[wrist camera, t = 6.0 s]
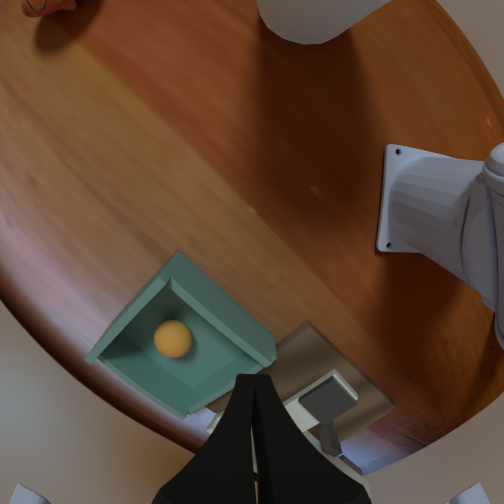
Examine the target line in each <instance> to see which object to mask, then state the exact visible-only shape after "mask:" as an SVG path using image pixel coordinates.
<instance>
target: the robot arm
mask: <svg viewBox="0 0 504 504" xmlns="http://www.w3.org/2000/svg"><path fill="white" fill-rule="evenodd" d="M396 149H398V150H399V154H398V155H397V154H396ZM389 242H390V246H389V247H386V245H387V243H389ZM376 247H377V249H378V250H379V251H381V252H414V253H422V254H423V255H425V256H427V257H428V258H430V259H431V260H433V261H434V262H436V263H437V264H439V265H440V266H442V267H443V268H445V269H446V270H448V271H449V272H451V273H452V274H454V275H455V276H456V277H458V278H459V279H461V280H462V281H464V282H465V283H466V284H468V285H469V286H471V287H472V288H474V289H475V290H476V291H478V292H479V293H480V294H481V296H482V299H483V304H484V305H486V306H487V307H488V308H489V309H491V310H492V311H493V312H494V313H495V333H496V336H497V340H498V342H499V344H500V346H501V347H502V348H503V350H504V142H503V143H501V144H499V145H498V146H496V147H495V148H494V149H493V150H492V151H491V153H490V155H489V157H488V158H487V159H486V160H485V162H482V161H473V160H464V159H456V158H452V157H448V156H444V155H440V154H436V153H432V152H428V151H424V150H419V149H415V148H410V147H405V146H400V145H395V144H388V145H387V146H386V147H385V156H384V174H383V188H382V199H381V209H380V218H379V227H378V234H377V242H376ZM251 426H252V435H253V442H254V450H255V457H256V465H257V483H258V504H372V503H371V500H370V497H369V495H368V493H367V491H366V489H365V487H364V486H363V485H362V484H360V483H359V482H357V481H356V480H354V479H352V478H351V477H350V476H348V475H347V474H345V473H344V472H343V471H341V470H340V469H339V468H337V467H336V466H335V465H334V464H332V463H331V462H330V461H329V460H328V459H327V458H326V457H325V456H324V455H322V454H321V453H320V452H319V451H318V450H317V449H316V448H315V447H314V446H313V445H312V443H311V442H310V441H309V440H308V439H307V438H306V437H305V435H304V434H303V433H302V432H301V430H300V429H299V428H298V426H297V425H296V423H295V422H294V421H293V419H292V418H291V416H290V415H289V413H288V411H287V410H286V408H285V406H284V404H283V403H282V401H281V399H280V397H279V395H278V393H277V391H276V389H275V387H274V384H273V382H272V379H271V376H270V375H269V374H238V375H236V381H235V385H234V389H233V392H232V394H231V397H230V399H229V402H228V404H227V406H226V409H225V411H224V413H223V414H222V416H221V418H220V420H219V422H218V424H217V425H216V427H215V429H214V430H213V432H212V433H211V435H210V436H209V438H208V439H207V441H206V442H205V443H204V445H203V446H202V447H201V449H200V450H199V451H198V452H197V454H196V455H195V456H194V457H193V458H192V459H191V460H190V461H189V462H188V463H187V465H186V466H185V467H184V468H183V469H182V470H181V471H180V472H179V473H178V474H176V475H175V476H174V477H173V478H172V479H171V480H170V481H168V482H167V483H166V484H165V485H163V486H162V487H161V488H160V489H159V491H158V492H157V494H156V496H155V498H154V499H153V501H152V504H257V503H256V493H255V483H254V469H253V454H252V435H251ZM9 504H51V503H50V502H49V501H48V500H47V499H45V498H44V497H43V496H41V495H39V494H38V493H36V492H34V491H32V490H30V489H29V488H27V487H25V486H24V485H22V484H21V483H18V485H17V487H16V489H15V491H14V493H13V496H12V498H11V500H10V503H9ZM445 504H490V502H489V500H488V498H487V496H486V494H485V492H484V490H483V488H482V486H481V484H480V483H479V482H477V483H476V484H474V485H472V486H471V487H469V488H467V489H465V490H464V491H462V492H460V493H459V494H457V495H456V496H455V497H453V498H452V499H451V500H450V501H449V502H447V503H445Z"/></svg>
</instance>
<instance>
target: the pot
mask: <svg viewBox="0 0 504 504" xmlns="http://www.w3.org/2000/svg"><path fill="white" fill-rule="evenodd" d="M76 7H77V5H76V3H75V0H21V8H22V11H23V13H24V14H25V16H27V17H39V16H43V15H47V14H50V13H52V12H54V11H56V10H68V11H72V10H75V9H76Z"/></svg>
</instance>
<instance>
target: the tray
mask: <svg viewBox="0 0 504 504" xmlns="http://www.w3.org/2000/svg"><path fill="white" fill-rule="evenodd" d="M357 399H358V395H357V393H356V392H355V391H354V389H353V388H352V387H351V386H350V385H349V384H348V383H347V382H346V381H345V380H344V378H343V377H342V376H341V375H340V374H339V373H338V372H337V371H336V370H335V369H333V370H331V371H330V372H329V373H327V374H326V375H324V376H323V377H321V378H320V379H318V380H317V381H315V382H314V383H312V384H311V385H309V386H308V387H306V388H305V389H303V390H302V391H300V392H299V393H297V394H295V395H294V396H292V397H291V398H289V399H287V400H286V401H284V402H282V403H283V404H284V406H285V408H286V410H287V411H288V413H289V415H290V416H291V418H292V419H293V421H294V422H295V423H296V425H297V426H298V428H299V429H300V430H301V432H302V433H303V434H304V435H305V437H306V438H307V439H308V440H309V441H310V442H311V443H312V445H313V446H314V447H315V448H316V449H317V450H318V451H319V452H320V453H321V454H322V455H324V456H325V457H326V458H327V459H328V460H329V461H330V462H331V463H332V464H334V465H335V466H336V467H337V468H339V469H340V470H341V471H343V472H344V473H345V474H347V475H348V476H350V477H351V478H352V479H354V480H356V481H357V482H359V483H360V484H362V485H363V486H364V487H365V489H366V491H367V493H368V495H369V497H371V496H370V486H369V482H368V481H367V480H366V479H364V478H363V477H362V470H361V469H360V468H359V467H357V466H356V465H355V464H354V463H353V462H351V461H350V460H349V459H348V458H347V457H345V456H344V455H342V456H340V457H337V456H336V457H333V456H331V455H328V454H326V453H324V451H323V446H322V443H321V442H320V441H318V440H317V439H316V438H315V437H314V436H313V435H312V434H311V433H309V432H308V431H307V430H308V429H310V428H311V427H313V426H315V425H317V424H319V423H321V424H322V425H325V424H327V423H328V422H330V421H332V420H333V419H335V418H337V417H338V416H340V415H342V414H343V413H345V412H346V411H348V410H350V409H351V408H353V407H354V406H356V405H357V403H356V400H357ZM224 411H225V410H224ZM224 411H222V412H221V413H219V414H217V415H215V416H214V418H213V420H212V421H211V423H210V425H209V426H208V428H207V430H206V431H207V432H208V433H209V434H210V435H211V433H212V432H213V430H214V429H215V427H216V425H217V424H218V422H219V420H220V418H221V416H222V414H223V413H224ZM251 435H252V426H251ZM252 454H253V469H254V472H256V473H257V465H256V457H255V450H254V442H253V435H252Z"/></svg>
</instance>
